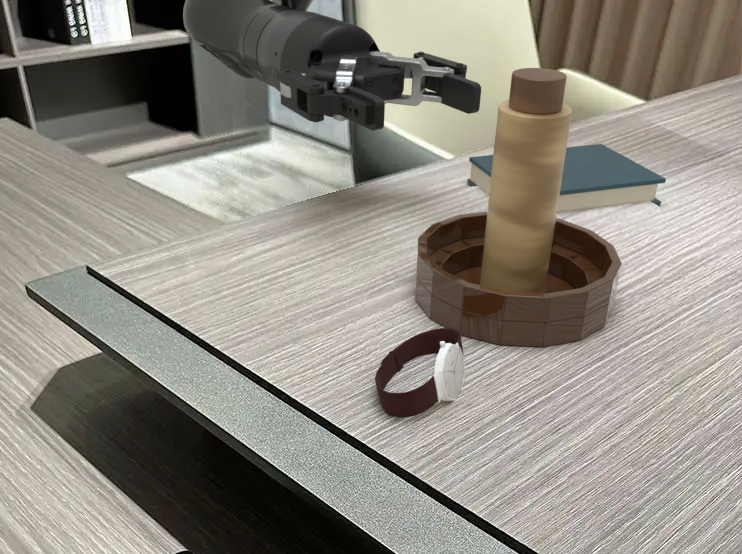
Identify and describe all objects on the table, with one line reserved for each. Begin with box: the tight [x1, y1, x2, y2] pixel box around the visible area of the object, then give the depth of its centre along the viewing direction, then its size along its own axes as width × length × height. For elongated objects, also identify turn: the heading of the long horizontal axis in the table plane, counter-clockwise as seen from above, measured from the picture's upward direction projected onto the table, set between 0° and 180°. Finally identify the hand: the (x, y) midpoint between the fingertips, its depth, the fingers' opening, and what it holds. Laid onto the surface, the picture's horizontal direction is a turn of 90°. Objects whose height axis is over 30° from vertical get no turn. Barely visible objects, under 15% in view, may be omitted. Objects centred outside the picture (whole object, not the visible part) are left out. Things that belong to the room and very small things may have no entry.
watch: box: [374, 327, 466, 419], centre depth 46 cm, size 8×5×4 cm, turn 153°
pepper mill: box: [480, 67, 573, 293], centre depth 52 cm, size 4×4×15 cm
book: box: [466, 143, 667, 213], centre depth 73 cm, size 14×10×2 cm
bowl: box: [414, 211, 623, 348], centre depth 55 cm, size 13×13×4 cm
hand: (430, 107), depth 58 cm, fingers open, 8 cm apart
